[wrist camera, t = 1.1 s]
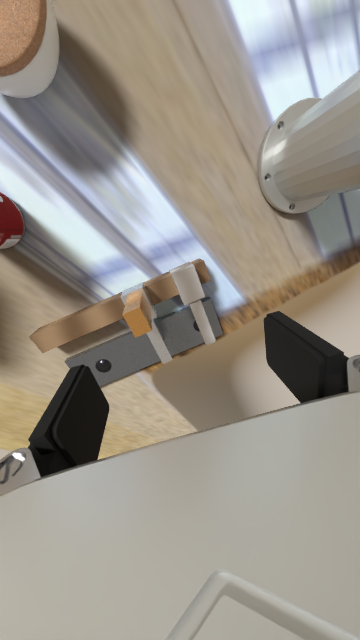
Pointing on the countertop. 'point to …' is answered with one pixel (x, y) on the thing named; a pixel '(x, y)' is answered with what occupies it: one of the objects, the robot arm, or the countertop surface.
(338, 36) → the countertop surface
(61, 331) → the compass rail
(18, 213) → the soda can
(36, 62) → the lidded jar
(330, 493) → the robot arm
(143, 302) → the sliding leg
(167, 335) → the hole strip
